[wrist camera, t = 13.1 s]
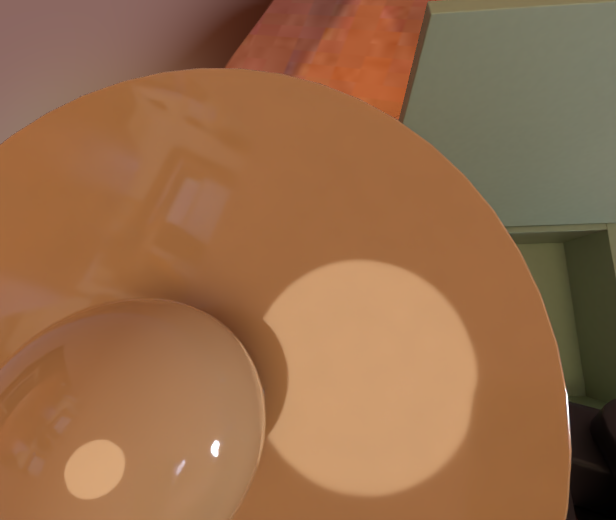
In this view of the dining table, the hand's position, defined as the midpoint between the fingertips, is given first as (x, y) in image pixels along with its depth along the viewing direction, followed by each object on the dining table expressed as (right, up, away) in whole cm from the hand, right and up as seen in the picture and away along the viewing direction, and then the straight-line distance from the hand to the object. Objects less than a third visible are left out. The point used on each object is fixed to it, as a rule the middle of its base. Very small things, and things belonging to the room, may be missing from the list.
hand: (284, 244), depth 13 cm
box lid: (+16, +5, +6) cm, 18 cm away
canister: (0, -4, +5) cm, 6 cm away
